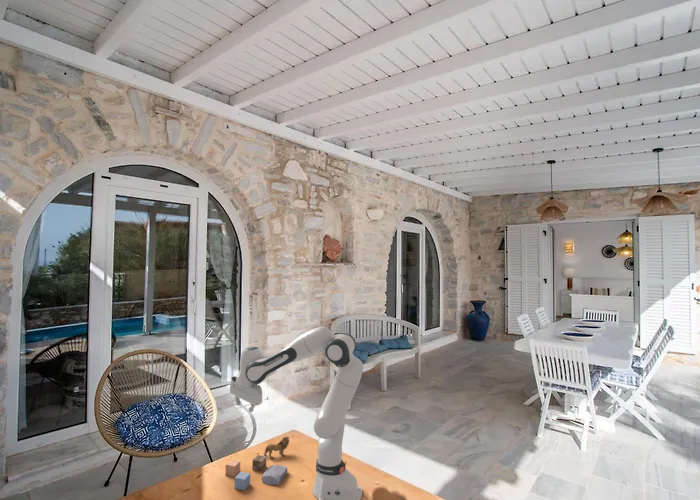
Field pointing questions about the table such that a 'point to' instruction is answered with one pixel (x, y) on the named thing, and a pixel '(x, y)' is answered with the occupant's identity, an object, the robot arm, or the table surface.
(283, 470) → the stone block
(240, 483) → the slate-blue cube
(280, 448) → the lion figurine
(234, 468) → the terracotta cube
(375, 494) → the table surface
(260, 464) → the walnut cube
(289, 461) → the table surface
